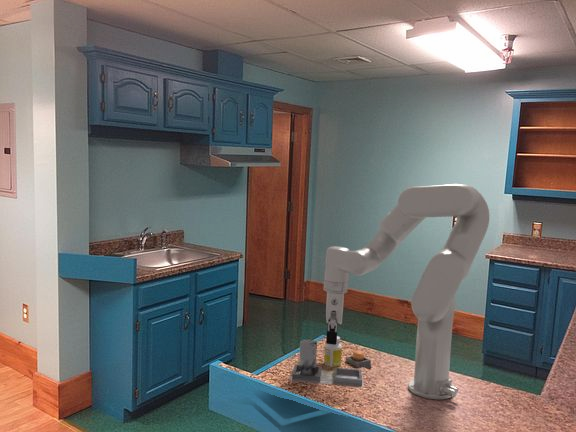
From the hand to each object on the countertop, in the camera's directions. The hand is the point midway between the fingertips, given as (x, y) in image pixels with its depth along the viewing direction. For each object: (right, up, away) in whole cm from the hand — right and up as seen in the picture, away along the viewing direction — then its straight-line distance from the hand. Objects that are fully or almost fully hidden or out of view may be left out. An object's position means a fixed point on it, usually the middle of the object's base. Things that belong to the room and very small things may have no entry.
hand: (331, 338), depth 157 cm
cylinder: (-8, -8, -10) cm, 15 cm away
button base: (+9, -9, +2) cm, 13 cm away
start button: (+9, -7, +2) cm, 11 cm away
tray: (-2, -10, -11) cm, 15 cm away
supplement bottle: (0, -9, 0) cm, 9 cm away
